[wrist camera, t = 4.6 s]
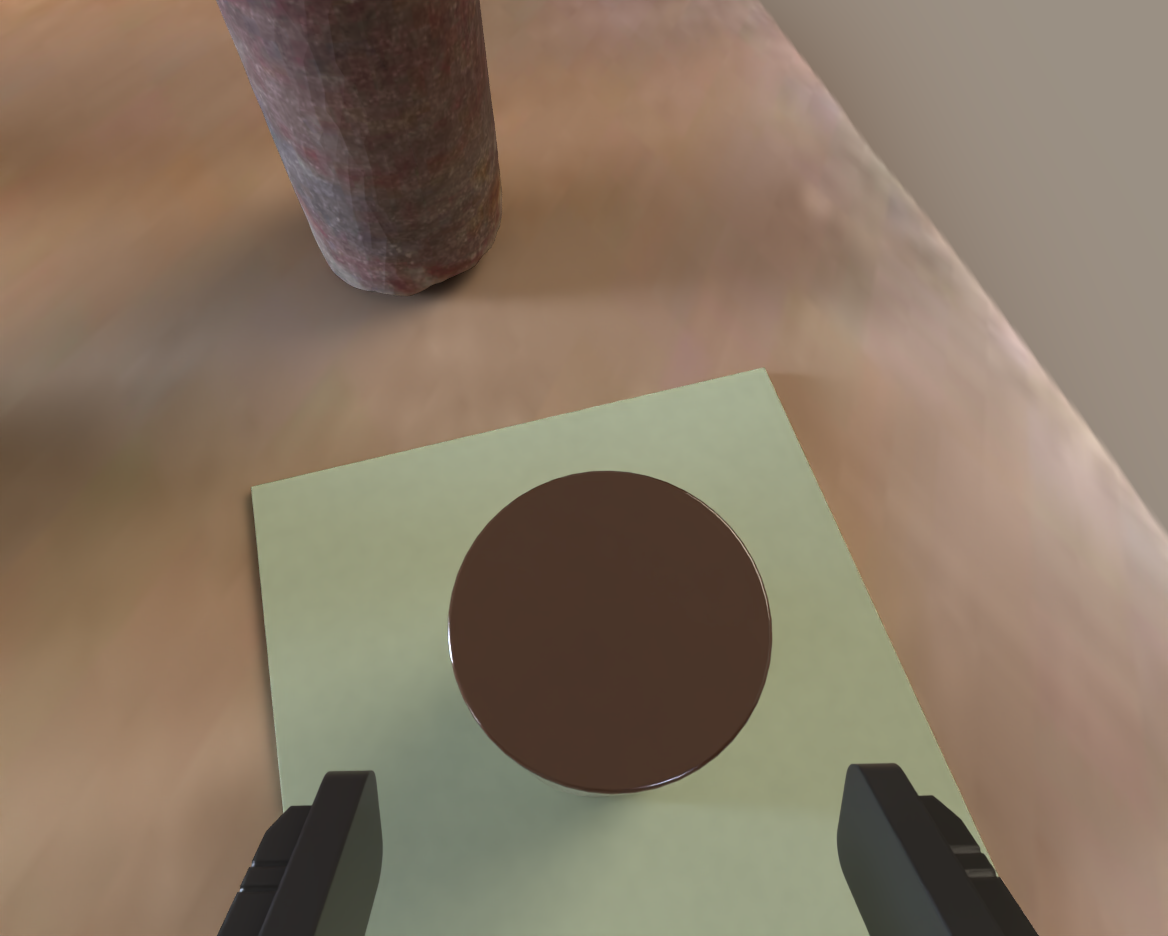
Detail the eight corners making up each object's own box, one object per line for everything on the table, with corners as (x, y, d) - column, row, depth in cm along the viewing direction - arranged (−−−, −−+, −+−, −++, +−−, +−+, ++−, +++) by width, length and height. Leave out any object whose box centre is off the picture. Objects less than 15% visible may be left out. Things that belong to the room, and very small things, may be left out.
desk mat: (762, 371, 27) (764, 366, 26) (1018, 931, 19) (1025, 933, 19) (254, 490, 24) (250, 486, 24) (324, 1189, 17) (320, 1195, 16)
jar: (693, 820, 20) (768, 821, 13) (465, 784, 20) (411, 764, 13) (709, 594, 23) (778, 488, 15) (508, 565, 23) (483, 447, 16)
